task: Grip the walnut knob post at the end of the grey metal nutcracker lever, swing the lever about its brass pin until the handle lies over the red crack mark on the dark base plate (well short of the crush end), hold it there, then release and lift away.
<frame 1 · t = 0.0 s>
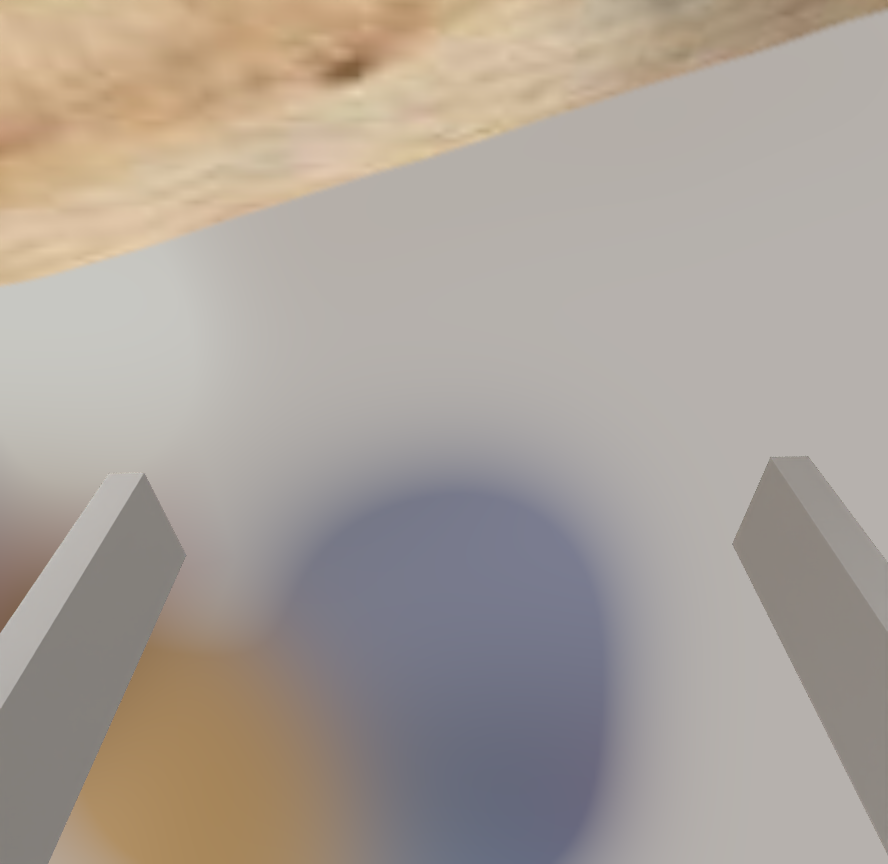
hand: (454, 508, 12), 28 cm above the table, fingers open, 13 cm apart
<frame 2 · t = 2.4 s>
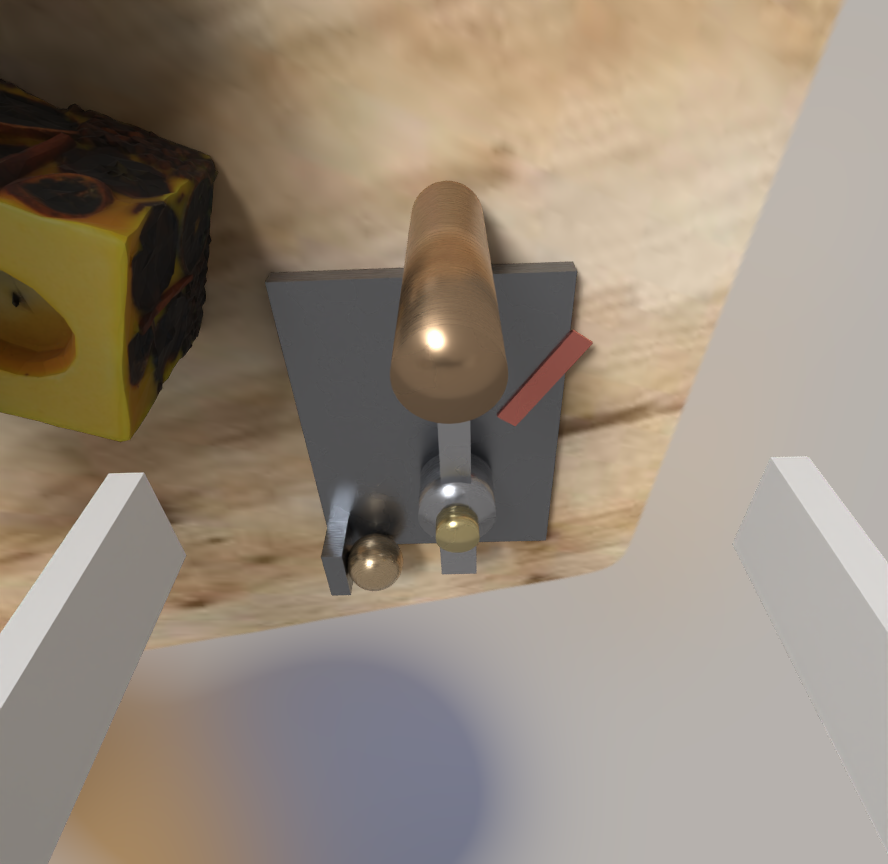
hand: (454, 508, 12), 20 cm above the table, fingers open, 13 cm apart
lever: (455, 484, 28), point 8 cm above the table, hinge at 0.0°
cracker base: (455, 462, 39), on the table
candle: (111, 219, 29), on the table
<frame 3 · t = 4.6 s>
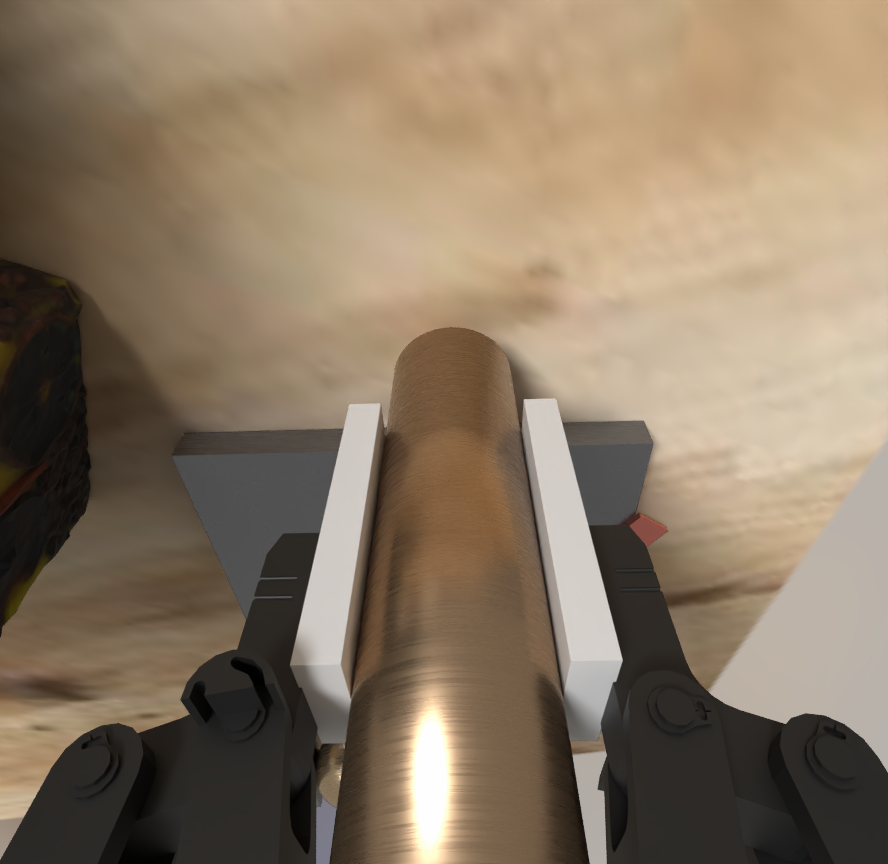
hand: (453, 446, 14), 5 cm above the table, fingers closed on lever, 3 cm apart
lever: (463, 779, 18), point 8 cm above the table, hinge at 0.0°, touching gripper
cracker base: (461, 643, 28), on the table
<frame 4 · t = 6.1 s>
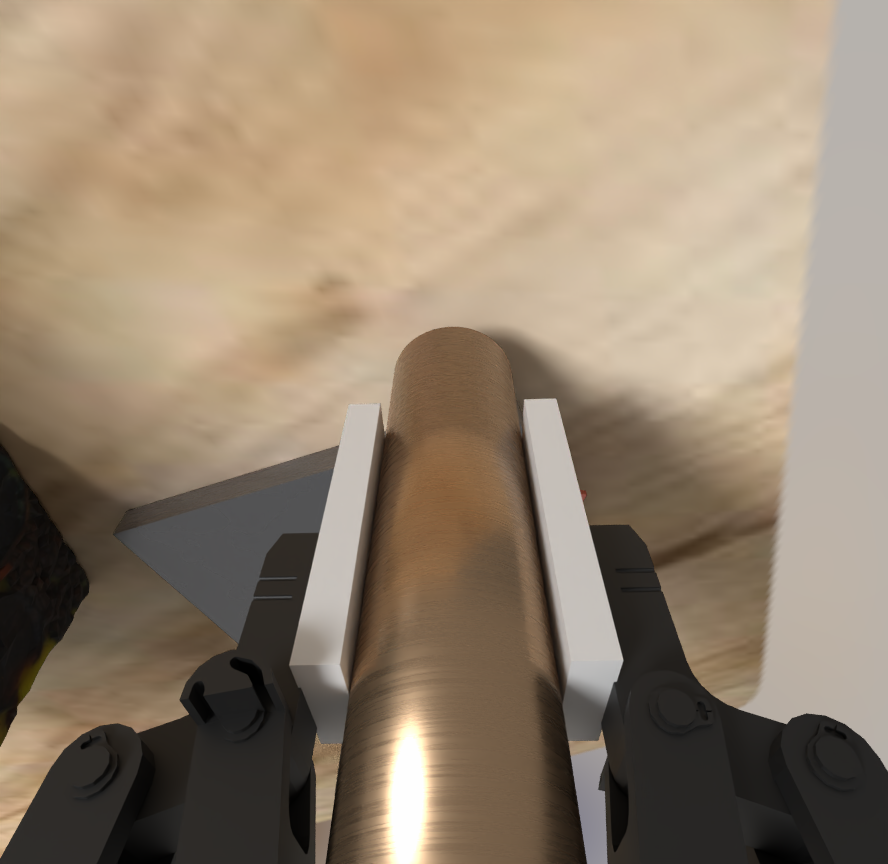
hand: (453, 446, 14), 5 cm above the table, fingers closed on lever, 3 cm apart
lever: (472, 779, 18), point 8 cm above the table, hinge at -17.8°, touching gripper
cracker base: (471, 643, 28), on the table
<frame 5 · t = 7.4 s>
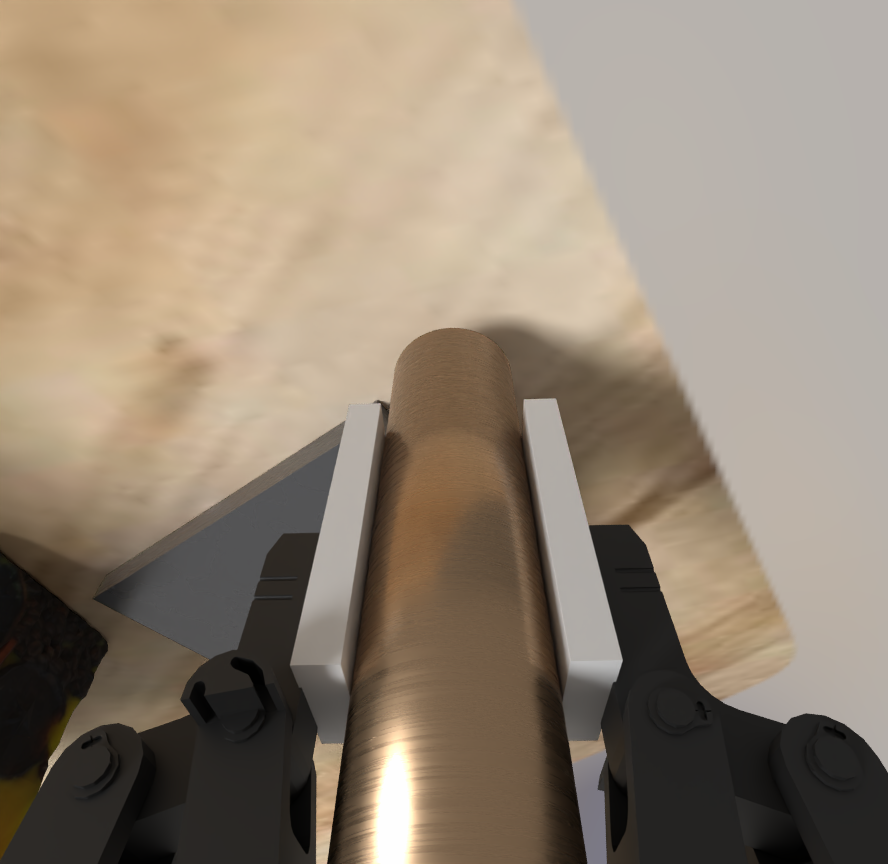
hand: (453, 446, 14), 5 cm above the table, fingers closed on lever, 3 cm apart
lever: (465, 780, 18), point 8 cm above the table, hinge at -34.6°, touching gripper
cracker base: (464, 643, 28), on the table
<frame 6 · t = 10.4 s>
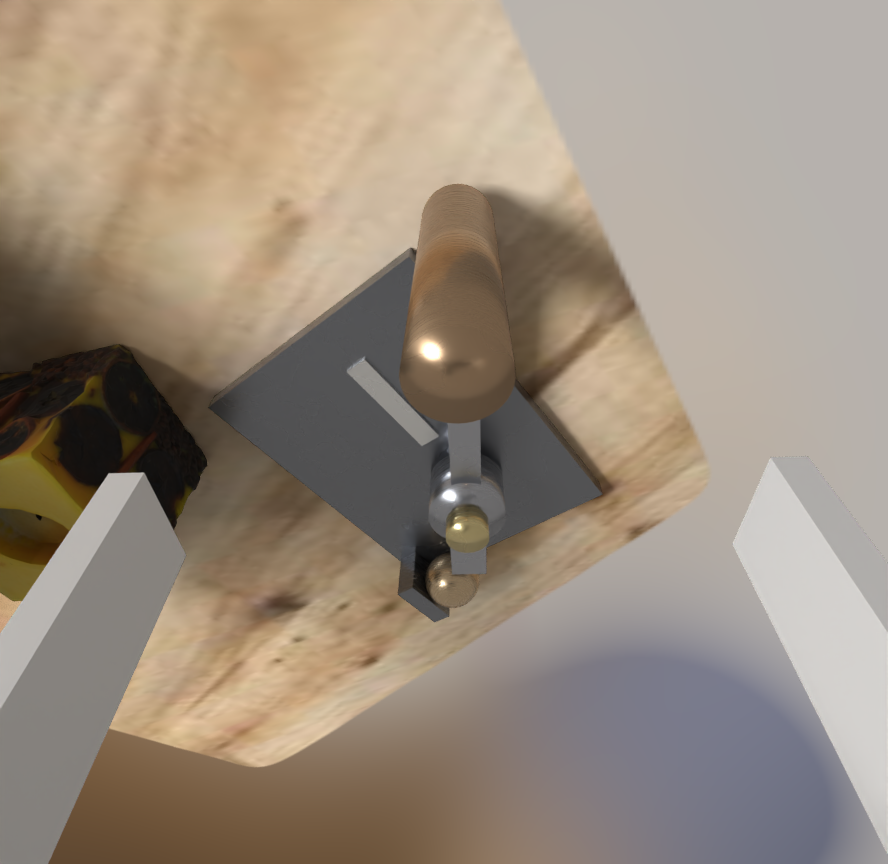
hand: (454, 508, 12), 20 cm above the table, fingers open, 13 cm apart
lever: (464, 484, 29), point 8 cm above the table, hinge at -34.2°
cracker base: (466, 463, 39), on the table
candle: (107, 418, 37), on the table
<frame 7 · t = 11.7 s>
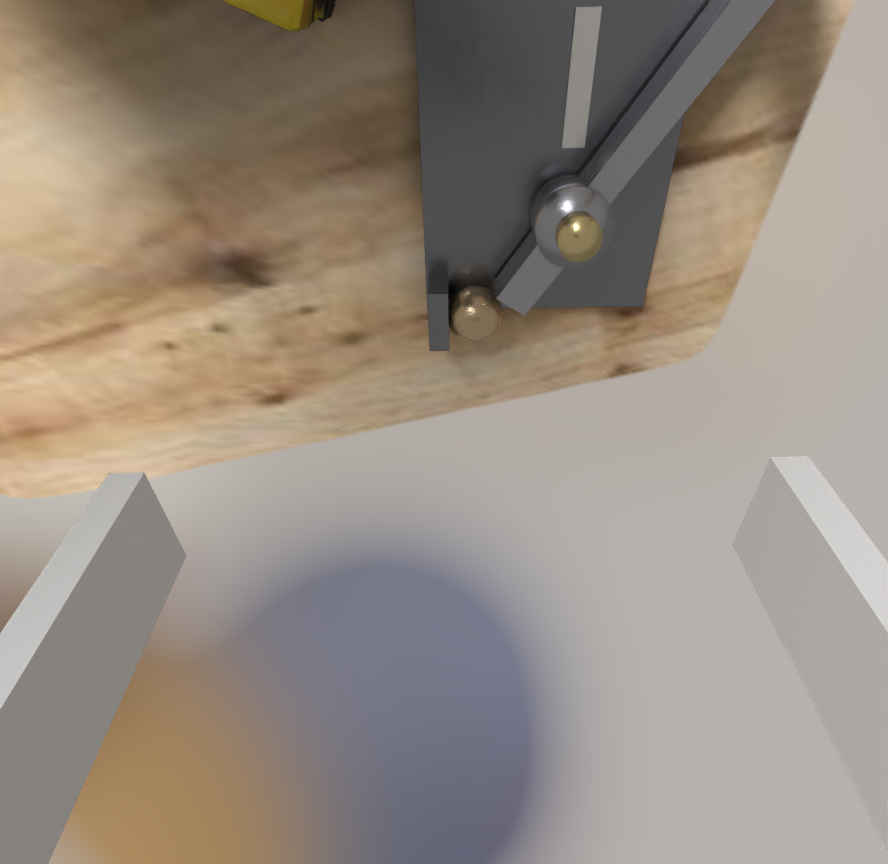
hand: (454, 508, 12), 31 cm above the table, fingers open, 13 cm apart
lever: (666, 153, 29), point 8 cm above the table, hinge at -34.2°
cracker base: (562, 205, 39), on the table
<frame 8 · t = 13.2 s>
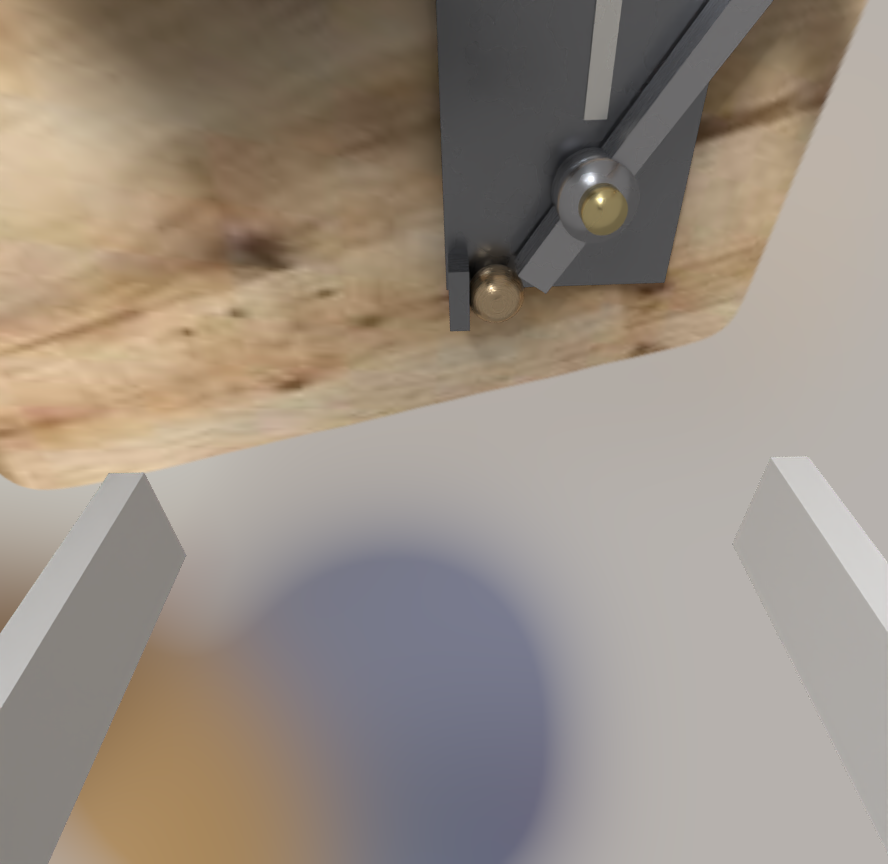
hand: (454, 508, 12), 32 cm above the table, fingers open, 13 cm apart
lever: (695, 119, 28), point 8 cm above the table, hinge at -34.2°
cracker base: (583, 180, 38), on the table
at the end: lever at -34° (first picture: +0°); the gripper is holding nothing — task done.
